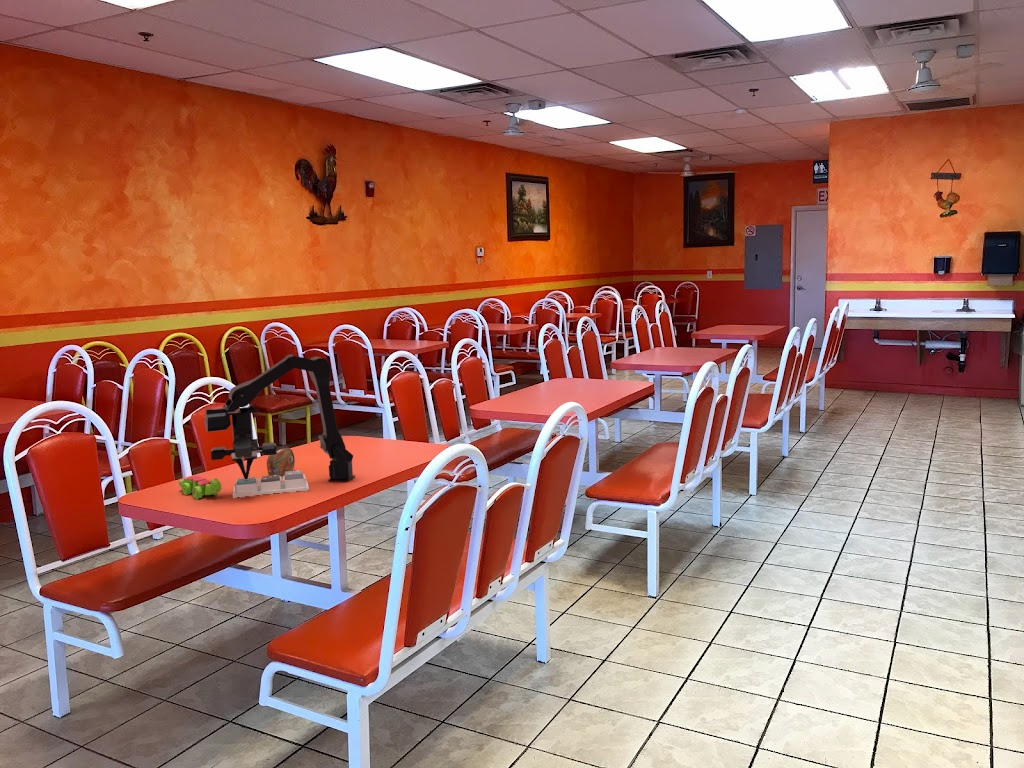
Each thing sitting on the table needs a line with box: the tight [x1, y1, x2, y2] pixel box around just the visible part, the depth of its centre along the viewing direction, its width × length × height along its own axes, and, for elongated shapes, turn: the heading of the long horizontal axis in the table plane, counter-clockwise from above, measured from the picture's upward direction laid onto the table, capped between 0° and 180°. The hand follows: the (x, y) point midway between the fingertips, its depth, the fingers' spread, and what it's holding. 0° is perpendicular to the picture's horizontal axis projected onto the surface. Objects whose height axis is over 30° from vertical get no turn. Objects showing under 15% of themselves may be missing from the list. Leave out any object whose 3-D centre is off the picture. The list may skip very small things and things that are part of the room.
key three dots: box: [261, 475, 279, 482], centre depth 256 cm, size 5×5×3 cm
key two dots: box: [285, 469, 303, 480], centre depth 258 cm, size 5×5×3 cm
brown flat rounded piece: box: [266, 447, 296, 478], centre depth 276 cm, size 15×3×8 cm, turn 168°
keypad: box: [232, 473, 310, 499], centre depth 256 cm, size 22×9×4 cm, turn 106°
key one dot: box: [237, 476, 256, 485], centre depth 254 cm, size 5×5×3 cm
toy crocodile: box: [178, 475, 222, 500], centre depth 254 cm, size 20×7×6 cm, turn 46°
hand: (246, 478), depth 254 cm, fingers closed
